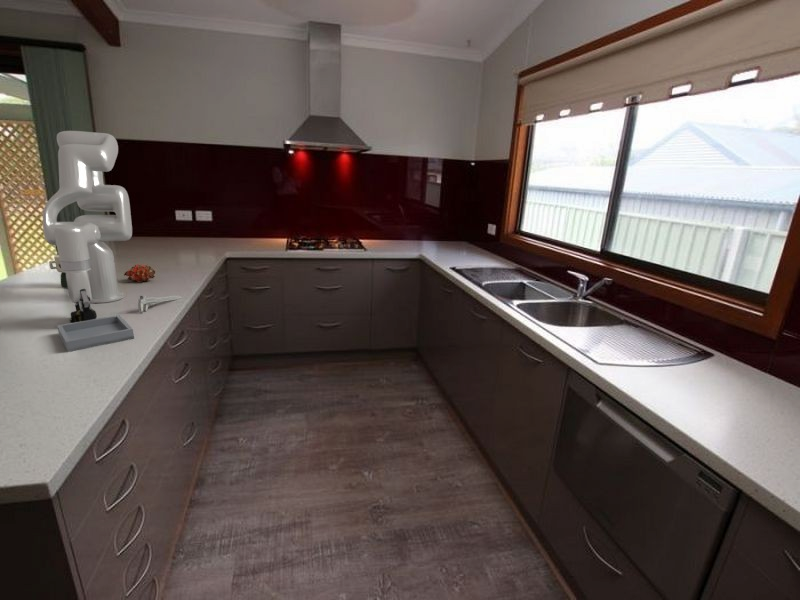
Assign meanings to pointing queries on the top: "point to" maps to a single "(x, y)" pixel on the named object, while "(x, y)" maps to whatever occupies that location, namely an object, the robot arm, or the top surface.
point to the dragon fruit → (140, 273)
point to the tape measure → (77, 318)
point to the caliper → (153, 301)
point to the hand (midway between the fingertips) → (85, 318)
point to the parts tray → (94, 332)
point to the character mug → (59, 270)
